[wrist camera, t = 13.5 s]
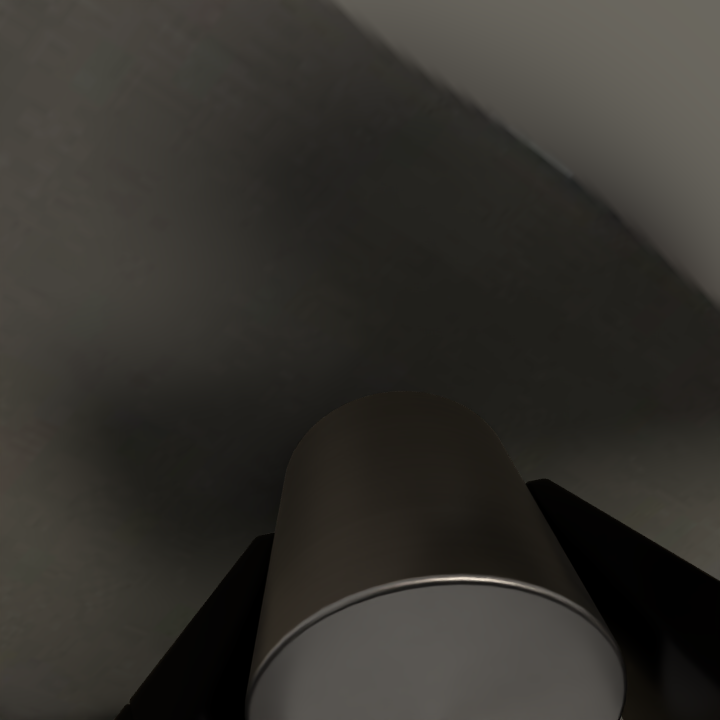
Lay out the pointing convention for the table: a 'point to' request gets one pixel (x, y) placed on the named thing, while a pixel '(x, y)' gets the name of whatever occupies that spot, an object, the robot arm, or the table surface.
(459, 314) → the table surface
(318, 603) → the tin
